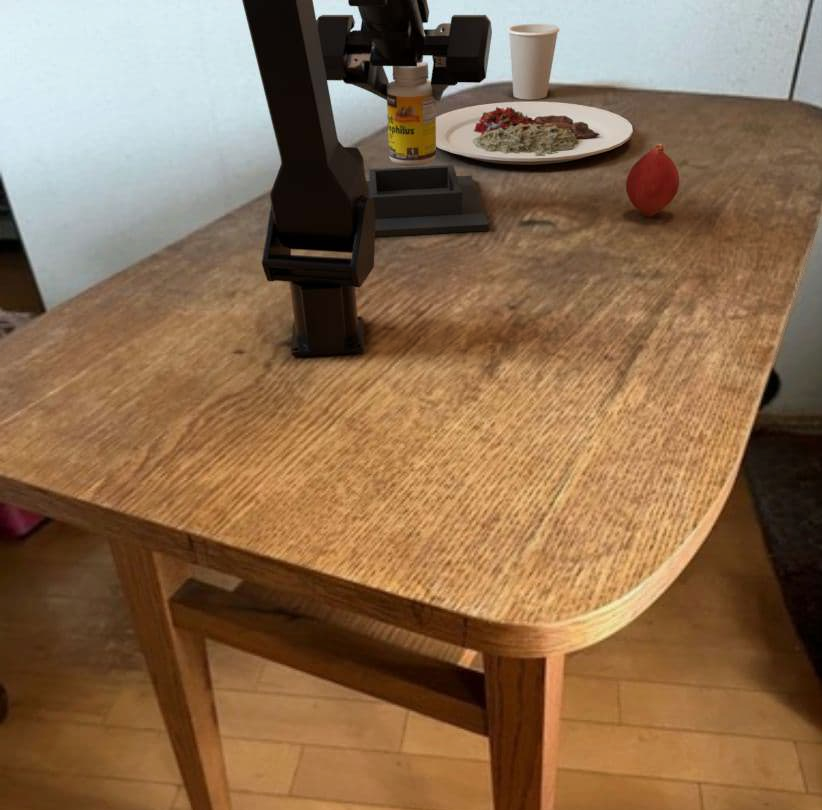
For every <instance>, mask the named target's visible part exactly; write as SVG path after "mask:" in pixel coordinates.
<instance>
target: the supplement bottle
mask: <svg viewBox="0 0 822 810" xmlns="http://www.w3.org/2000/svg"><path fill="white" fill-rule="evenodd" d="M429 74H430V72H429V62H427V61H425V60H423V61H422V62H421V63H417V66H392V80H393V81H391V82H390V81H389V84H388V86H387V100H386V112H387V115H386V117H387V137H388V157H389V160H390V161H391V162H392V163H393V164H396V165H399V166H403V167H419V166H424V165H427V164H430V163H432V162H433V161H434V160H435V159H436V156H437V147H436V117H437V115H436V114H437V105H436V104H437V103H436V102H437V101H436V100H435V98H434V95H433V91H432V87H431V80H429V77H430V76H429Z"/></svg>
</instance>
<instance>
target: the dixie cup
mask: <svg viewBox="0 0 822 810" xmlns="http://www.w3.org/2000/svg"><path fill="white" fill-rule="evenodd" d="M559 32H560V28H559V27H558V26H557V25H555V24H550V23H549V24H548V23H523V24H516V25H512V26H510V27H509V28H508V29H507V33H509V34H508V35H509V48H510V49H509V50H510V63H511V64H510V65H511V79H512V93H513V97H514V98H516V99H519V100H541V99H544V98H546V97H548V91H549V84H550V79H551V74H552V67H553V62H554V56H555V50H556V45H557V39H558V34H559Z"/></svg>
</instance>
